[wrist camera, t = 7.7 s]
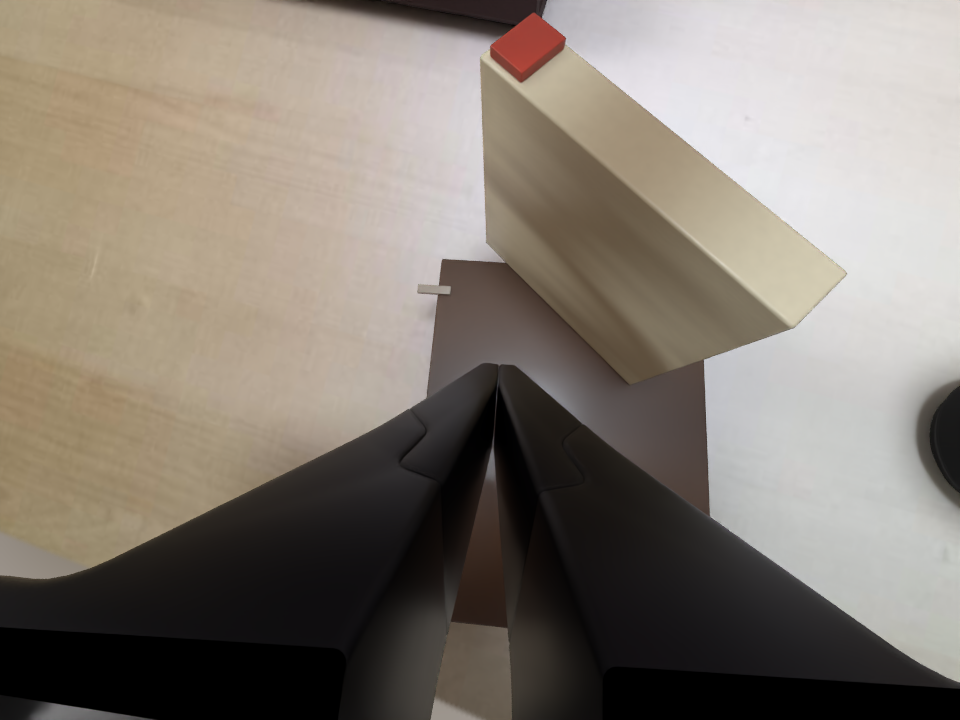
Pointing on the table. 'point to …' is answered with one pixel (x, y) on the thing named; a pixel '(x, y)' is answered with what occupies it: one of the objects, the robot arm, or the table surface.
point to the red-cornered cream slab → (629, 217)
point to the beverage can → (947, 438)
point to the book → (482, 8)
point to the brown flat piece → (571, 382)
